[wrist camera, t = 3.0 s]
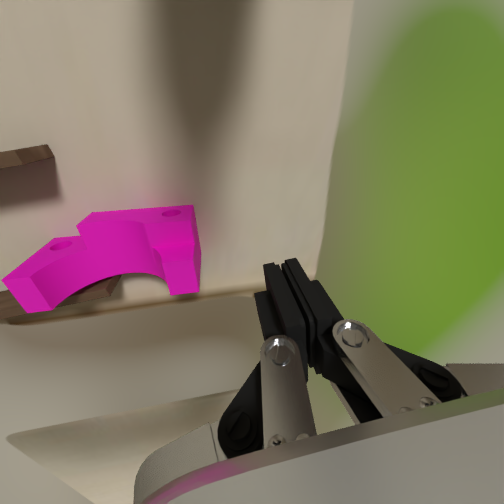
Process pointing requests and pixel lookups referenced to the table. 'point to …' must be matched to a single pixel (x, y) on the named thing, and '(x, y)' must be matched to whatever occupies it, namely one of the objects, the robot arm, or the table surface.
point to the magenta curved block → (112, 255)
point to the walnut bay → (8, 306)
